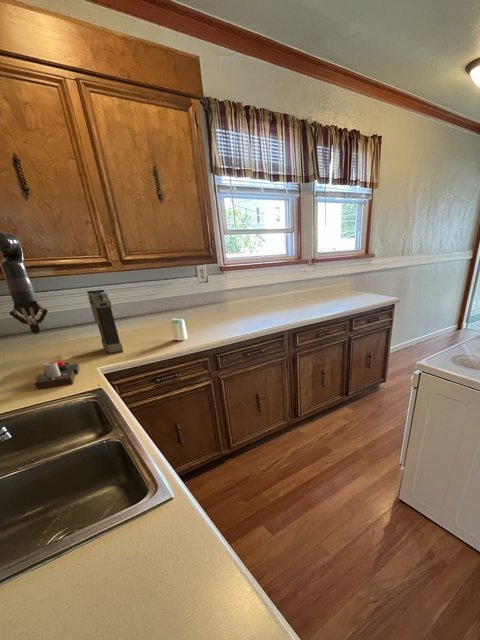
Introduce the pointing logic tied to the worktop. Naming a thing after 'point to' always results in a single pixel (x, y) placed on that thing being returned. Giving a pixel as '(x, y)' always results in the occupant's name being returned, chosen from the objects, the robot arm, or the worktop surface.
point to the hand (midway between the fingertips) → (36, 333)
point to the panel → (55, 380)
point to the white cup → (52, 369)
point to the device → (105, 321)
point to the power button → (60, 363)
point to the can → (179, 329)
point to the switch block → (68, 368)
